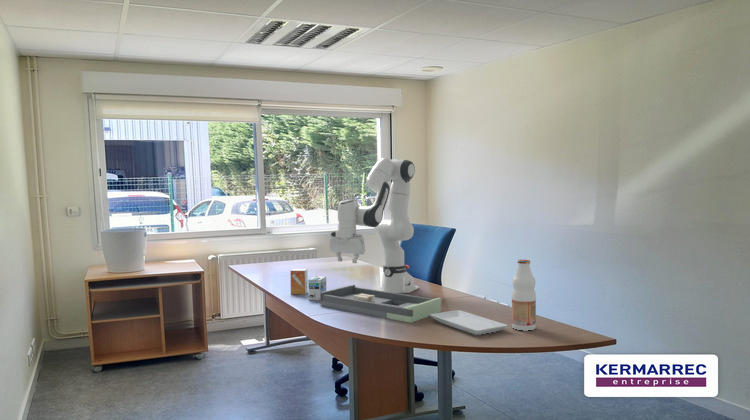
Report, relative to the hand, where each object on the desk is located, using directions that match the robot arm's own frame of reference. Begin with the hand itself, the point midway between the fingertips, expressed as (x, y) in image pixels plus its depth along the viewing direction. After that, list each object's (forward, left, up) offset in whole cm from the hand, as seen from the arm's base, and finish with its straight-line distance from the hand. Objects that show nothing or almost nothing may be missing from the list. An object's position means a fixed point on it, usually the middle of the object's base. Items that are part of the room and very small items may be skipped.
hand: (347, 262), depth 269 cm
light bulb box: (-4, -25, -22) cm, 33 cm away
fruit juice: (-13, +84, -22) cm, 88 cm away
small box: (-7, -42, -22) cm, 48 cm away
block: (0, +10, -19) cm, 21 cm away
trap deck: (-5, +15, -22) cm, 27 cm away
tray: (-3, +64, -22) cm, 68 cm away
